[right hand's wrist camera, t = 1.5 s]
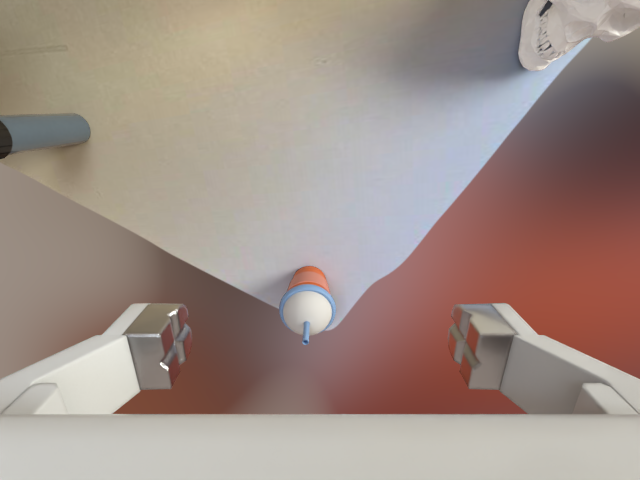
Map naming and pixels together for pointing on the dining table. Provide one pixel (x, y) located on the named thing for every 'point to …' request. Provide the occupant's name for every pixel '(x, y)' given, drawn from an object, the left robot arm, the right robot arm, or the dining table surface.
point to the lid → (5, 141)
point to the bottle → (45, 131)
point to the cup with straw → (307, 303)
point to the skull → (572, 27)
